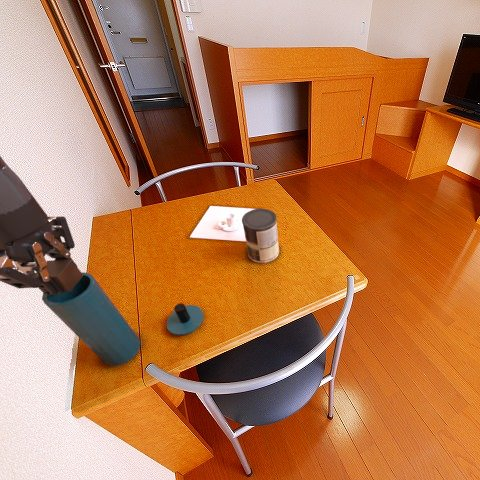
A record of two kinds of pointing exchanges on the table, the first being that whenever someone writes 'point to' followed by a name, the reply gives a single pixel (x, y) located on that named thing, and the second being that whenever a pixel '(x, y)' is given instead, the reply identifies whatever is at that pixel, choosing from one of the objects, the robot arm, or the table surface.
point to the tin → (95, 321)
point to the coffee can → (261, 235)
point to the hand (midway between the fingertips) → (64, 283)
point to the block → (64, 273)
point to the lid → (184, 319)
